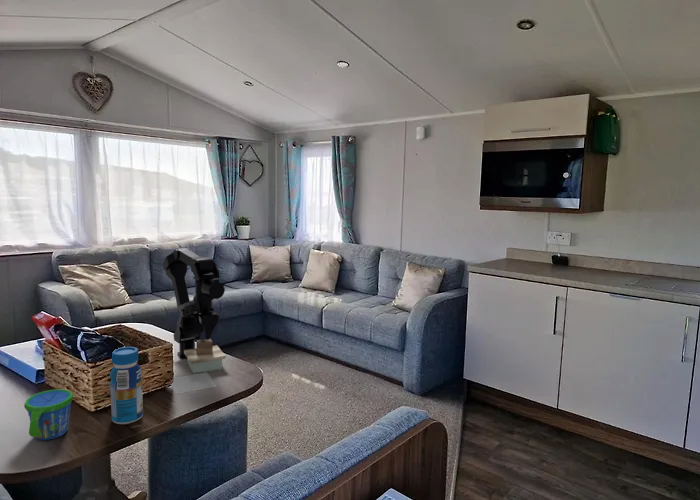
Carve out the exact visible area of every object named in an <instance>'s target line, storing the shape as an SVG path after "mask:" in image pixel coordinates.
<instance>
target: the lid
mask: <svg viewBox="0 0 700 500" xmlns="http://www.w3.org/2000/svg"><path fill="white" fill-rule="evenodd" d="M213 343H214V341H213V340H212V339H211V338H210V339H209V340H206V338H205V339H197V340H195V349H189V350H184V354H185V355H186V357H187V358H188V359H187V358H186V359H187V361H188V360H189V362H190V363H191V364H195V363H201V362H207V361H213V360H220V359H222V360H225V359H227V356H226V354H225V353H224V352H223V351H222V349H221V348H220V347H219V346H218V345H217V344H216V345H213Z"/></svg>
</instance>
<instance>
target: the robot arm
mask: <svg viewBox="0 0 700 500" xmlns="http://www.w3.org/2000/svg"><path fill="white" fill-rule="evenodd" d="M162 262H163V263H162V266H163V270H164V272H165V275H166V276H167V278H168V279H170V280H171V282H172V287H173V292H174V296H175V297H174V298H175V301H176V306H177V312H178V315H179V316H178V319H177V322H176V329H175V332H174V333H173V335H172V336H173V340H174V342H176V343H177V344H179V351H178V352H177V353H176V354H177V356H178V358H179V359H181V360H182V359H187V357H186V355H185V354H184V350H189V349H195V348H196V341H198V340H201V336H202V333H204V336H205V339H206V340H209V339H211V337H212V335H213V333H214V331H215V328H216V327H217V325H218V324H219V323H220V315H219V314H218V313H217V312H215V308H214V307H213V300H219V299H221V298H222V297H223V296H224V294H225V291H226V289H225V286H224V284H222V283H221V282H220V278H221V276H220V271H219V269H218V267H217V264H216V262H215V260H214V259H213V258H212V257H208V256H200V255H198V254H196V253H194V252H193V251H191V250H190V249H189V248H187V247H183V248H179V247H178V248H175V249H174V250H173V251H172V252H171V253H170V254H168V255H167V256H166V257H165V258H164V260H163V261H162ZM188 266H189V267H190V272H191V273H192V275H193V280H195V281H194V283H195V284H194V287H195V288H194V289H195V291H194V292H195V294H194V295H193V296H192V297H193V299H192V300H190V297H189V292H188V287H187V281H186V278H185V277H186V275H187V273H188Z"/></svg>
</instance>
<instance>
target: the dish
mask: <svg viewBox="0 0 700 500" xmlns="http://www.w3.org/2000/svg"><path fill="white" fill-rule="evenodd" d="M186 359H187V366H188V368H189V369H190V370H191V372H192V375H194V374H200V373H205V372H207V373H208V372H214V371H221V370H223V359H220V360H213V361H207V362H201V363H195V364H191V363H190V362H189V360H188V358H186Z"/></svg>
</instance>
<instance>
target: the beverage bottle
mask: <svg viewBox="0 0 700 500" xmlns="http://www.w3.org/2000/svg"><path fill="white" fill-rule="evenodd" d="M138 361H139V349H138V348H137V347H134V346H124V347H123V346H122V347H118V349H115V350H114V351H113V352H112V363H113V365H114V366H113V368H112V370H111V372H110V379H111V381H110V382H109V389H110V391H109V393H110V409H111V421H112V422H113V423H114V424H117V425H129V424H131V423H134V422H137V421H139V420H140V419H142V418H143V417H144V406H143V405H144V403H143V402H144V401H143V383H144V381H143V377H142V374H143V371H142V368H141V366H140V364H139V363H138Z"/></svg>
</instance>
